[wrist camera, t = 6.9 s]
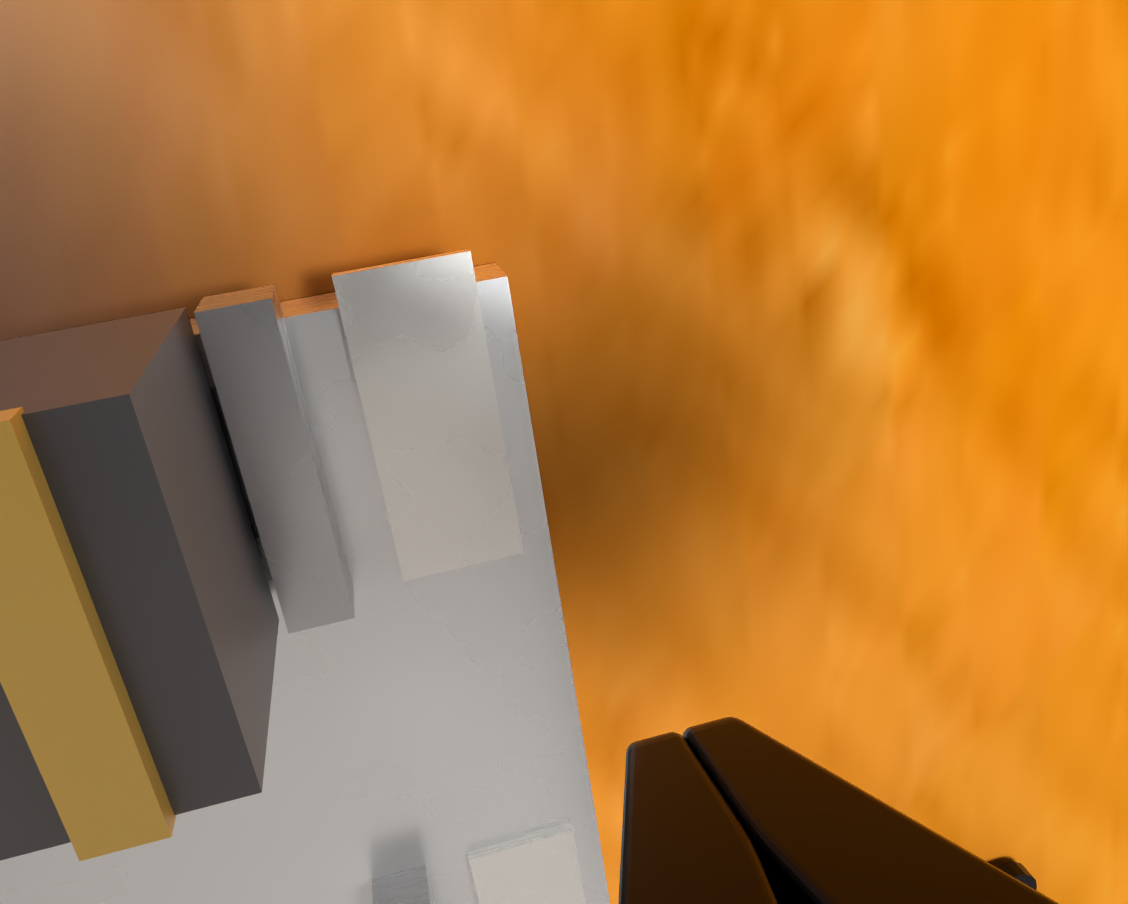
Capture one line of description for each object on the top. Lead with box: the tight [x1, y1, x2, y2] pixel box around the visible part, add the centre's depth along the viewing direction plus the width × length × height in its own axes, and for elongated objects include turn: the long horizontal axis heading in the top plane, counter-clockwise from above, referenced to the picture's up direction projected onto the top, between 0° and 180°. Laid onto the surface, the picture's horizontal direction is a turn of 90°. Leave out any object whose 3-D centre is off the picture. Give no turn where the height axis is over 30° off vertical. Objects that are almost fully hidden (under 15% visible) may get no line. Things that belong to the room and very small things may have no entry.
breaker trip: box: [0, 307, 279, 861], centre depth 12 cm, size 3×5×4 cm, turn 8°
